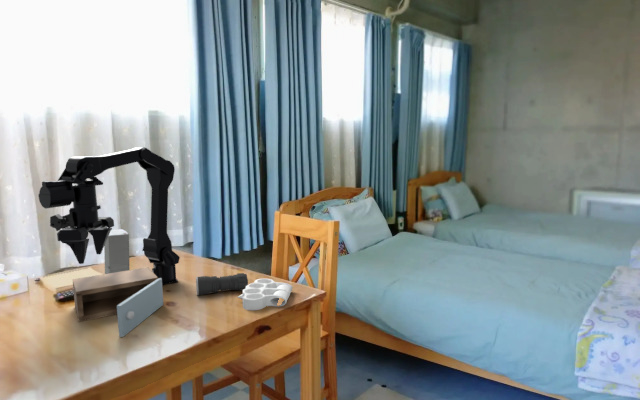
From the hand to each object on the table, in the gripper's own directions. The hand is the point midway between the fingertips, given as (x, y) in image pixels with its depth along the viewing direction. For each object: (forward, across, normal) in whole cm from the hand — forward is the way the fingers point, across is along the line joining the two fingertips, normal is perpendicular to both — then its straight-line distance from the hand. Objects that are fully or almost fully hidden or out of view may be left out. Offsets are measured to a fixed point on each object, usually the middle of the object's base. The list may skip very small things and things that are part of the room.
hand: (90, 258), depth 121 cm
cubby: (+14, 0, +6) cm, 15 cm away
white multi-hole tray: (+14, -4, +47) cm, 50 cm away
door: (+13, +10, +18) cm, 25 cm away
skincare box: (+14, -26, -5) cm, 30 cm away
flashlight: (+14, -11, +33) cm, 38 cm away
